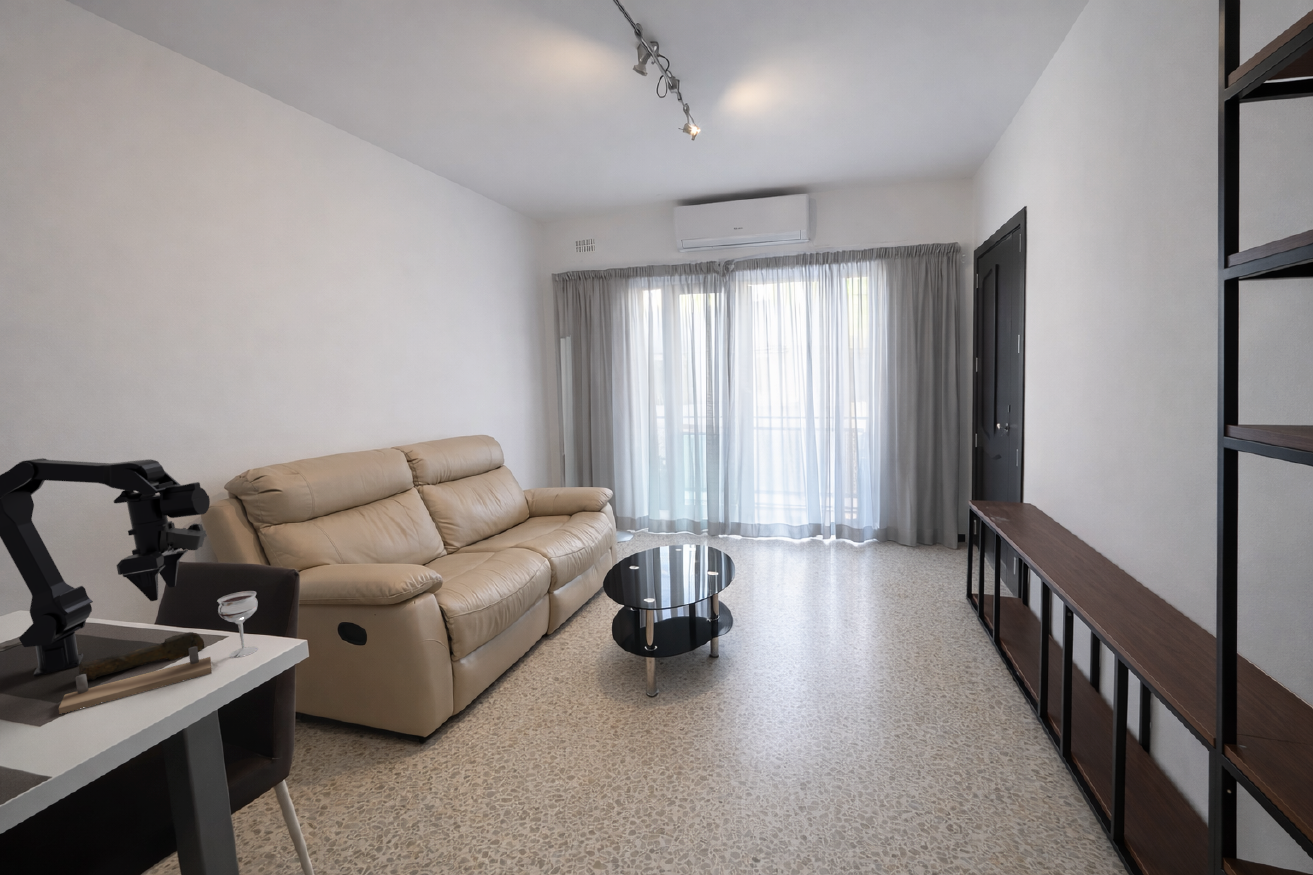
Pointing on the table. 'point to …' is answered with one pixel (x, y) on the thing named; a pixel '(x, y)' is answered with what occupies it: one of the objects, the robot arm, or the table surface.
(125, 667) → the hand tool
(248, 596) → the wineglass
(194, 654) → the tool rack
